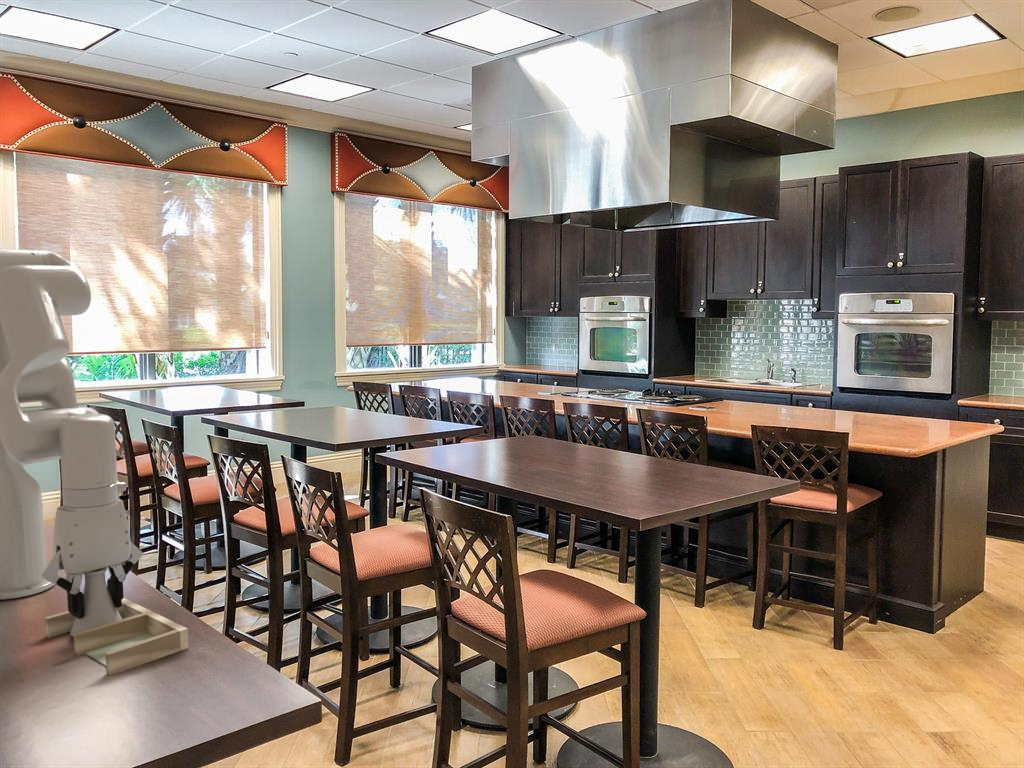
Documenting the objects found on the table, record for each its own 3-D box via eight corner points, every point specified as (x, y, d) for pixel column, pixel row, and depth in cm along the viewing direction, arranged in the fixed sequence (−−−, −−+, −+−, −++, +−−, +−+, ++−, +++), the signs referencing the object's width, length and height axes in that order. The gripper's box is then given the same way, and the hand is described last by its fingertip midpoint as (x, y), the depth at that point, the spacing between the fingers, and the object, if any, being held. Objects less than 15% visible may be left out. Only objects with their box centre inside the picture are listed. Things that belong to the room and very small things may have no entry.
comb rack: (45, 636, 128) (44, 617, 127) (121, 613, 137) (120, 596, 136) (109, 675, 114) (108, 654, 114) (188, 647, 123) (187, 628, 123)
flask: (102, 643, 125) (99, 578, 123) (60, 638, 126) (56, 574, 125) (133, 624, 132) (130, 563, 130) (93, 619, 133) (90, 559, 132)
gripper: (133, 482, 135) (138, 589, 137) (19, 502, 122) (27, 621, 124) (157, 489, 130) (161, 601, 133) (41, 511, 117) (48, 634, 120)
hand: (96, 609), depth 128 cm, fingers closed on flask, 5 cm apart
